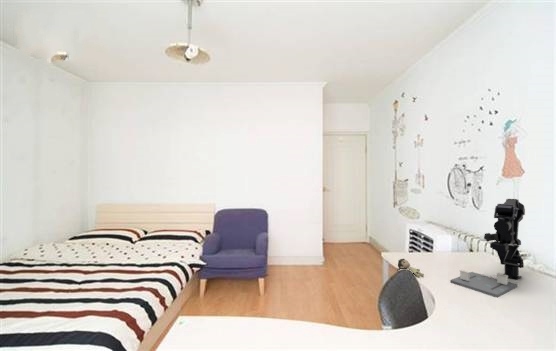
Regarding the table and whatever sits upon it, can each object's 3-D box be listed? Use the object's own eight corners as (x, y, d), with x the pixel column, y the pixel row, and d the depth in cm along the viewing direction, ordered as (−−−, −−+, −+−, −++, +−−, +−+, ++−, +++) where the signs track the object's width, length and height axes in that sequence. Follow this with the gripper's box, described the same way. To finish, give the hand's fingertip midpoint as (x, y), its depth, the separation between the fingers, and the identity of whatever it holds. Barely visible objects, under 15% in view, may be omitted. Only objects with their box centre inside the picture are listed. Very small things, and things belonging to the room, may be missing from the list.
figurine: (417, 271, 145) (395, 258, 158) (415, 282, 146) (393, 268, 160) (427, 269, 148) (405, 256, 161) (425, 280, 149) (403, 266, 163)
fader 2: (498, 281, 136) (498, 273, 136) (508, 284, 133) (508, 275, 133) (496, 282, 135) (496, 273, 135) (506, 285, 132) (506, 276, 132)
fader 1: (461, 277, 142) (461, 269, 142) (470, 280, 138) (470, 272, 138) (459, 278, 141) (459, 270, 141) (468, 281, 137) (468, 272, 137)
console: (472, 274, 151) (472, 270, 151) (517, 286, 134) (517, 283, 134) (450, 282, 140) (450, 278, 140) (497, 297, 123) (497, 293, 123)
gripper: (495, 224, 148) (495, 253, 148) (477, 229, 138) (478, 259, 139) (521, 228, 138) (521, 259, 139) (504, 233, 129) (505, 266, 129)
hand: (505, 260), depth 137 cm, fingers open, 8 cm apart
